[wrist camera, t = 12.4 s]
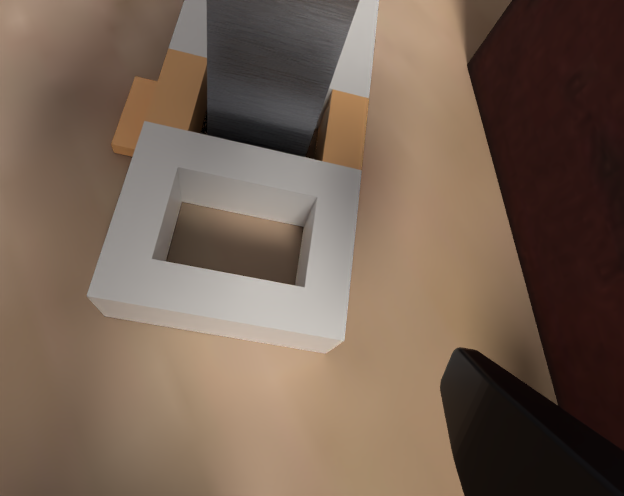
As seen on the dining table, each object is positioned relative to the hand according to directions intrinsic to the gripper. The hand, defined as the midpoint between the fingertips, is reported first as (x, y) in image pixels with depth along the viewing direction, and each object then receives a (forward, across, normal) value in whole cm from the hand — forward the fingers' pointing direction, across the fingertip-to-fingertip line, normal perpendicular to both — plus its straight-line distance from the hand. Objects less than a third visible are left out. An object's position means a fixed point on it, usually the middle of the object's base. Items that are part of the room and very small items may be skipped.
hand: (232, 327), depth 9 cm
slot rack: (+19, 0, 0) cm, 19 cm away
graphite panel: (+19, 0, 0) cm, 19 cm away
